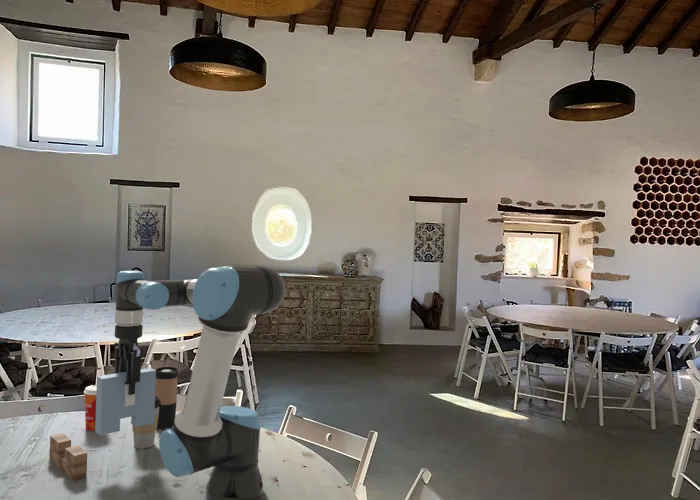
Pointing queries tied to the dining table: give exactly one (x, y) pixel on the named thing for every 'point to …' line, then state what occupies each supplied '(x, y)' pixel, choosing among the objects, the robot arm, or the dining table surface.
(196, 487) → the dining table surface
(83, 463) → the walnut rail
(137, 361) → the robot arm
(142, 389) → the light blue slab
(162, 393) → the travel mug
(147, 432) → the coffee cup
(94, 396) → the paper cup
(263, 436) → the dining table surface
